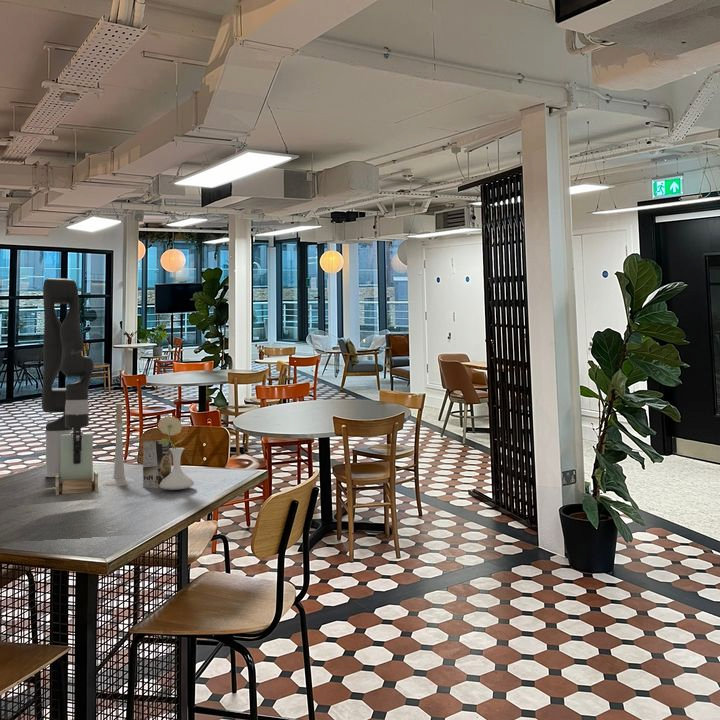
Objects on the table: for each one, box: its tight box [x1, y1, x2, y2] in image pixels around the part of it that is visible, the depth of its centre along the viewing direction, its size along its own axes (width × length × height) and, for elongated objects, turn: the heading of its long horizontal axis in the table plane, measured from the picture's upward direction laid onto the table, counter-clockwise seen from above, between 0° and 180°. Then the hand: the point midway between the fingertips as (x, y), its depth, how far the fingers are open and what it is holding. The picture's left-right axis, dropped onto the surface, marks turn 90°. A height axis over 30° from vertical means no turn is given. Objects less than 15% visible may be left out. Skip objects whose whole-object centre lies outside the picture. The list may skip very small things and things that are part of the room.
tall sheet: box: [60, 433, 94, 483], centre depth 216 cm, size 3×10×16 cm, turn 117°
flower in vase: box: [157, 415, 195, 491], centre depth 213 cm, size 13×11×25 cm
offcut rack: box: [55, 470, 99, 496], centre depth 213 cm, size 10×13×6 cm
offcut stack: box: [61, 478, 93, 495], centre depth 211 cm, size 4×9×4 cm, turn 116°
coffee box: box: [142, 439, 172, 489], centre depth 222 cm, size 9×6×16 cm
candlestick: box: [101, 403, 136, 487], centre depth 227 cm, size 13×13×30 cm
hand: (76, 462), depth 216 cm, fingers closed on tall sheet, 3 cm apart
